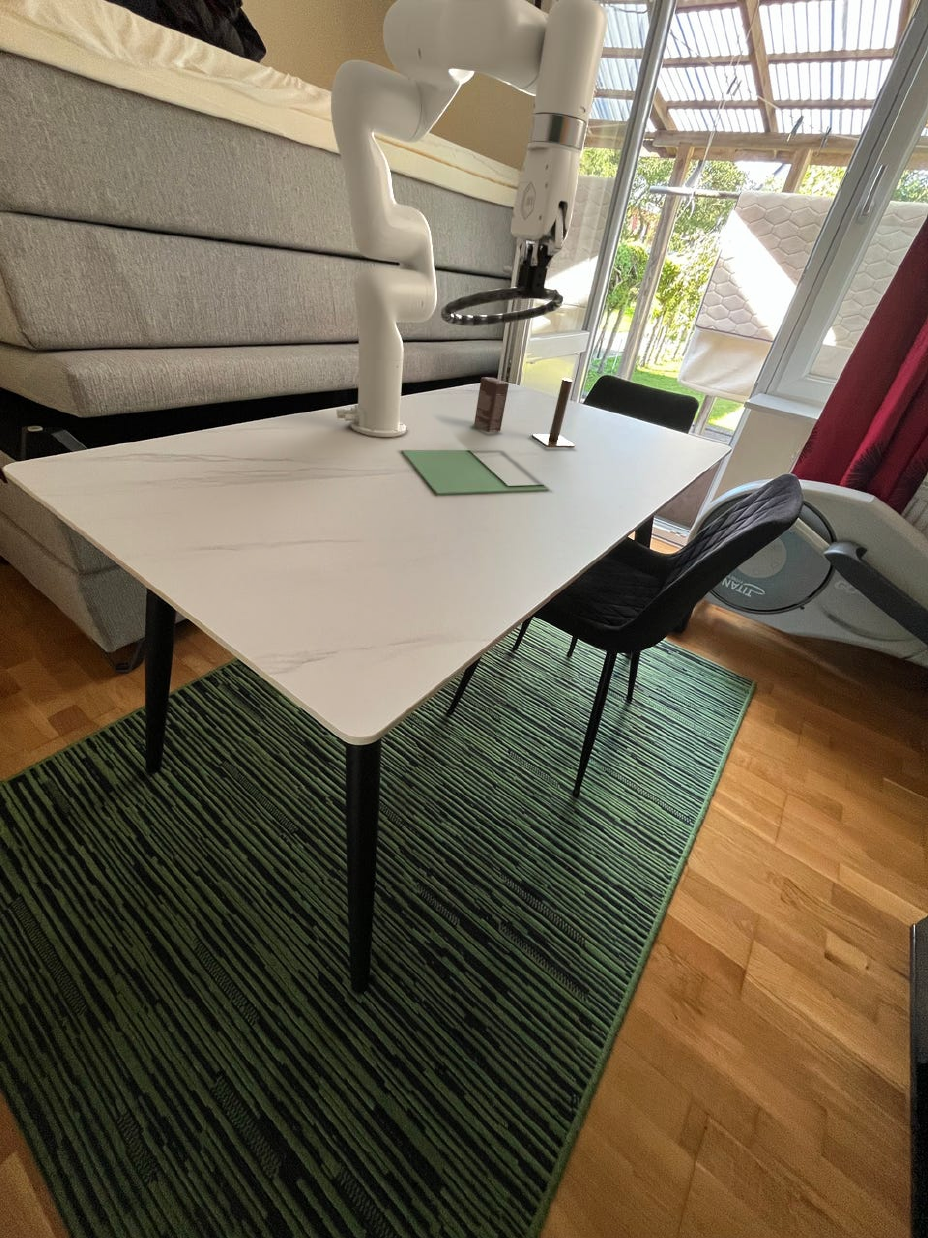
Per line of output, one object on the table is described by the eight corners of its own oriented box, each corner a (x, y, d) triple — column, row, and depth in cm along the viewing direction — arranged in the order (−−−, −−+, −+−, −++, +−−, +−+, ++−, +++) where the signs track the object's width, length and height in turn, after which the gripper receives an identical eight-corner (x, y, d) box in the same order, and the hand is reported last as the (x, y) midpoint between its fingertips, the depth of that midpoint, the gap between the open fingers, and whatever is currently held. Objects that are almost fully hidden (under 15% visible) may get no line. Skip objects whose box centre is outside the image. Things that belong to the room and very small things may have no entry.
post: (546, 450, 125) (562, 383, 116) (530, 438, 131) (544, 374, 122) (573, 450, 128) (590, 385, 119) (557, 439, 134) (572, 376, 125)
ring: (469, 298, 77) (468, 285, 76) (425, 327, 96) (424, 318, 95) (589, 296, 84) (589, 284, 83) (526, 324, 102) (526, 315, 102)
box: (500, 433, 131) (510, 383, 124) (487, 435, 128) (496, 383, 121) (485, 426, 134) (493, 376, 127) (472, 427, 132) (479, 376, 125)
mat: (437, 495, 95) (437, 493, 94) (401, 451, 110) (401, 450, 110) (548, 490, 104) (548, 489, 104) (500, 451, 120) (501, 449, 119)
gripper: (506, 137, 74) (486, 287, 85) (563, 127, 63) (531, 301, 74) (550, 149, 77) (525, 292, 88) (612, 141, 66) (575, 306, 77)
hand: (528, 295), depth 81 cm, fingers closed on ring, 1 cm apart
